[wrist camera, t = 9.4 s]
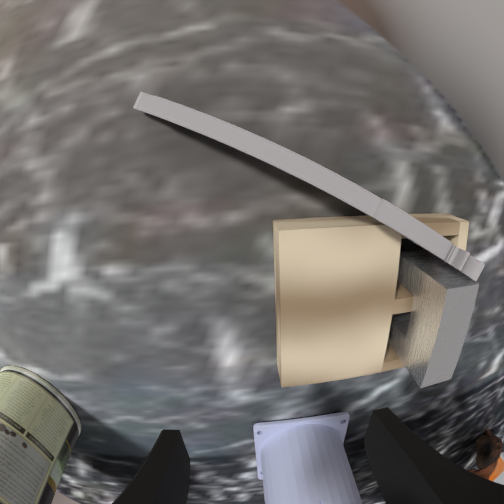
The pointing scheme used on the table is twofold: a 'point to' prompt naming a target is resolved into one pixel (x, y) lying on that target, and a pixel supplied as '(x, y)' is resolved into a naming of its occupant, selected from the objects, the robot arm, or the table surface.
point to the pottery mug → (487, 454)
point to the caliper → (313, 178)
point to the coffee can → (33, 437)
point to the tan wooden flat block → (341, 294)
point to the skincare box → (498, 471)
